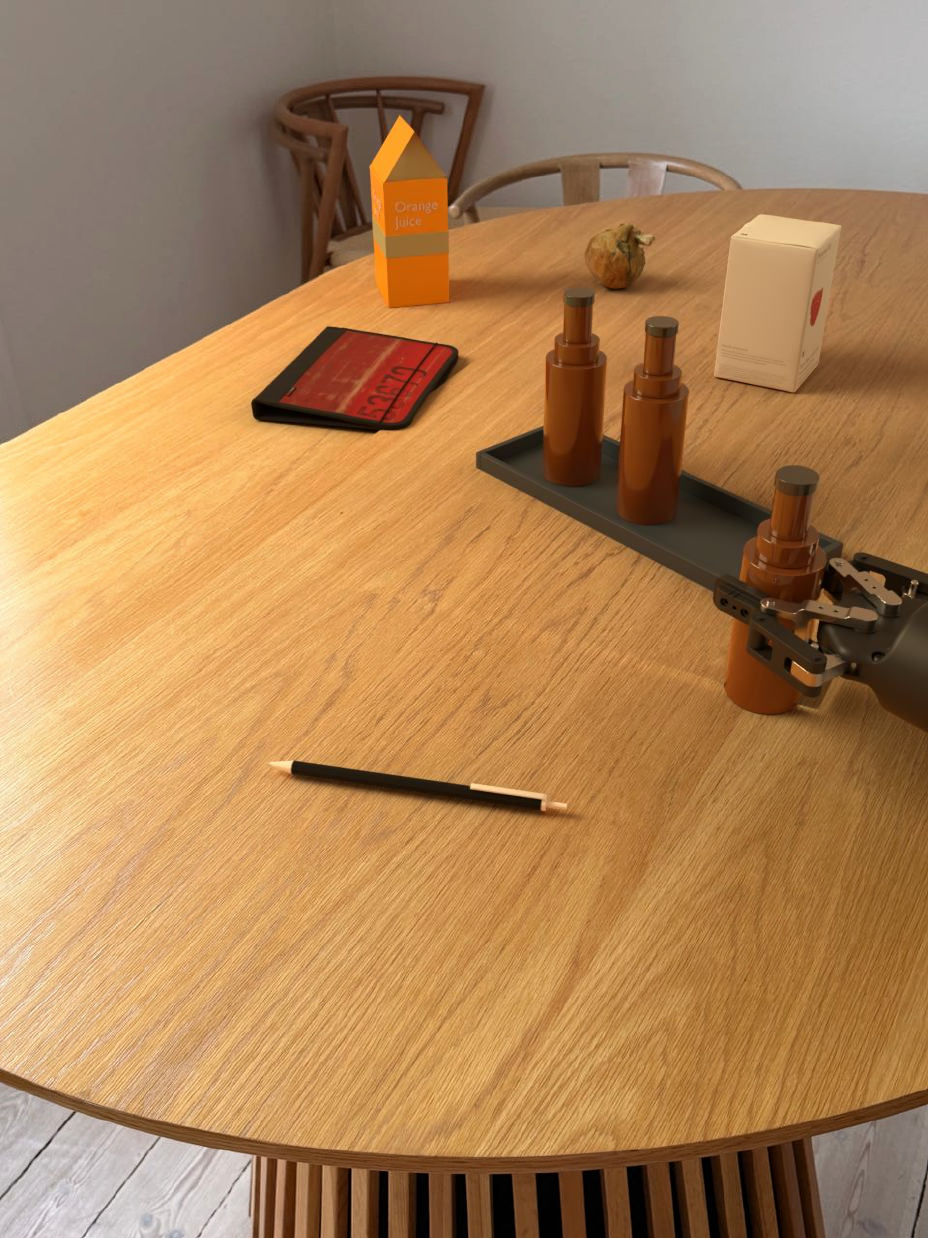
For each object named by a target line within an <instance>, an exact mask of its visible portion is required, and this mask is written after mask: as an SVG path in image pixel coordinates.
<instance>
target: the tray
mask: <svg viewBox="0 0 928 1238" xmlns="http://www.w3.org/2000/svg"><path fill="white" fill-rule="evenodd" d="M543 427H544V425H541V426H539V427H536V428H534V429H532V430H529V431H526V432H524V433H521V434H518V435H516V436H513V437H511V438H508V439H506V440H504V441H501V442H499V443H496V444H494V445H491V446H489V447H486V448H483V449H481V450H477V451H476V452H475V468H476V469H478V470H480V471H481V472H483V473H485V474H487V475H488V476H491V477H493V478H495V479H496V480H499V481H500V482H502V483H505V484H506V485H508V486H510V487H512V488H514V489H516V490H518V491H519V492H521V493H524V494H526V495H527V496H529V497H531V498H533V499H534V500H537V501H539V502H541V503H543V504H544V505H546V506H548V507H550V508H551V509H554V510H556V511H557V512H560V513H561V514H564V515H565V516H568V517H569V518H571V519H573V520H575V521H577V522H579V523H581V524H583V525H584V526H586V527H588V528H590V529H592V530H594V531H596V532H598V533H600V534H602V535H604V536H606V537H607V538H609V539H611V540H613V541H615V542H616V543H619V544H620V545H623V546H624V547H626V548H628V549H630V550H632V551H633V552H636V553H638V554H639V555H642V556H644V557H645V558H647V559H649V560H650V561H651V560H652V561H653V562H655V563H656V564H658V565H661V566H663V567H665V568H666V569H669V570H671V571H672V572H674V573H676V574H678V575H680V576H681V577H684V578H685V579H687V580H689V581H691V582H693V583H695V584H697V585H699V586H700V587H702V588H704V589H705V590H709V591H711V592H712V593H713V592H714V584H715V580H716V578H718V577H720V576H722V575H723V574H729V575H731V576H733V577H735V578H737V579H739V575H740V568H741V561H742V553H743V548H744V546H745V544H746V543H747V542H748V541H749V540H751V539H752V538H754V537H756V535H757V529H758V526H759V525H760V524H761V523H762V522H763V521H765V520H768V519H770V518H771V512H772V509H769V508H767V507H765V506H762V505H760V504H758V503H756V502H753V501H751V500H749V499H747V498H744V497H742V496H740V495H739V494H736V493H733V492H732V491H729V490H727V489H725V488H723V487H720V486H718V485H716V484H715V483H711V482H710V481H708V480H705V479H704V478H701V477H698V476H695V475H694V474H692V473H690V472H687V471H685V470H683V469H681V479H680V488H679V498H678V508H677V514H676V516H675V517H674V518H673V519H672V520H670V521H668V522H666V523H663V524H657V525H641V524H636V523H632V522H629V521H627V520H625V519H623V518H621V517H620V516H619V515H618V514H617V512H616V509H615V506H616V492H617V477H618V462H619V448H620V440H617V439H615V438H613V437H610V436H608V435H606V434H603V439H602V456H601V473H600V477H599V478H598V480H596V481H595V482H593V483H591V484H589V485H585V486H579V487H567V486H560V485H556V484H554V483H551V482H549V481H548V480H546V479H545V478H544V476H543V474H542V461H543ZM818 533H819V542H818V546H820V547H821V548H822V549H823V551H824V552H825V554H826V557H827V559H828V560H831V559H833V558H841V559H842V553H843V549H844V542H842V541H840V540H837V539H835V538H834V537H831V536H829V535H826V534H824V533H822V532H821V531H818Z"/></svg>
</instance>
